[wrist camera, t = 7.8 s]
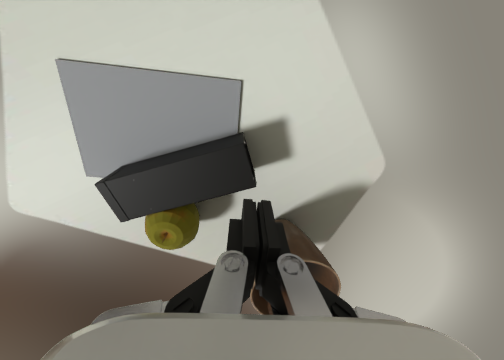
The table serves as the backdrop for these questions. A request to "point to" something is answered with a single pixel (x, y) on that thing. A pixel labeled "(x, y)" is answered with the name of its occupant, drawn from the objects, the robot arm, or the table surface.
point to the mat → (143, 112)
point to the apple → (173, 227)
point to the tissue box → (179, 178)
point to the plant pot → (311, 257)
